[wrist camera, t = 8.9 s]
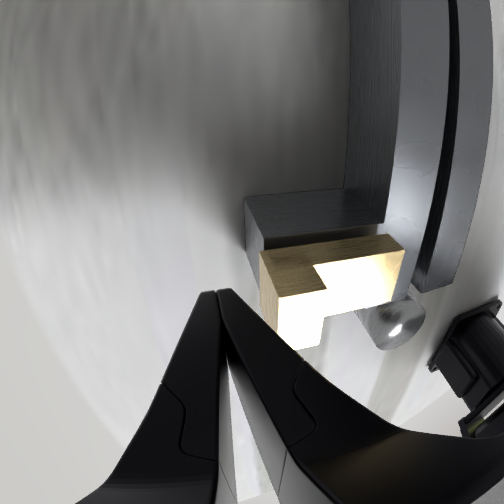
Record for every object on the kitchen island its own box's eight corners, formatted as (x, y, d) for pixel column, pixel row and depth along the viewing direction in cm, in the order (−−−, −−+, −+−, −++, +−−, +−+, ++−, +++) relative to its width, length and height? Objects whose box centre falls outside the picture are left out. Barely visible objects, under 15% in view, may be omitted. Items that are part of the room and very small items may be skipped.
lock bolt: (387, 233, 9) (424, 269, 8) (376, 282, 10) (405, 320, 9) (258, 250, 9) (279, 298, 7) (260, 305, 10) (277, 353, 8)
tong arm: (420, -94, 5) (465, -108, 2) (404, 298, 17) (433, 334, 14) (342, -121, 4) (381, -149, 2) (345, 315, 16) (370, 357, 14)
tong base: (379, -110, 5) (423, -131, 2) (372, 258, 14) (406, 299, 12) (232, -139, 4) (250, -181, 1) (247, 279, 13) (264, 331, 11)
